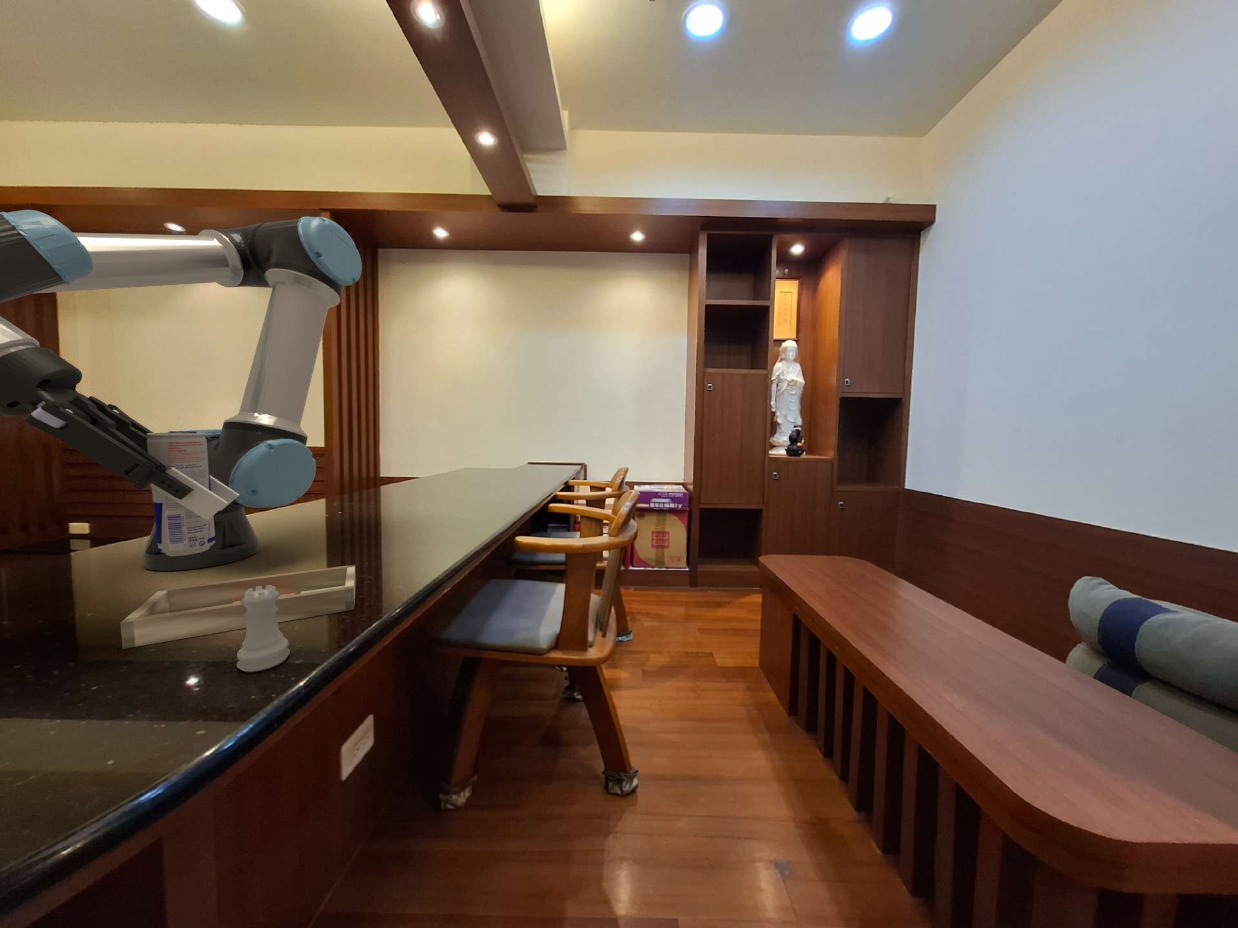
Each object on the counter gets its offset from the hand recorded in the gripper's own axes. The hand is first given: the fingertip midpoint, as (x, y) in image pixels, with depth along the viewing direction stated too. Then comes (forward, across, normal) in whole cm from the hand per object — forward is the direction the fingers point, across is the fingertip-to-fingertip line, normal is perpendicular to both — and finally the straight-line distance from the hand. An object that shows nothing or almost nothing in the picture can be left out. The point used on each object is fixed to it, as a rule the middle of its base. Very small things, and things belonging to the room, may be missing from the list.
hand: (224, 506), depth 56 cm
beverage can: (+1, 0, -7) cm, 7 cm away
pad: (+17, 0, -3) cm, 17 cm away
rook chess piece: (+14, +16, -6) cm, 22 cm away
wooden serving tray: (+12, 0, -8) cm, 15 cm away
